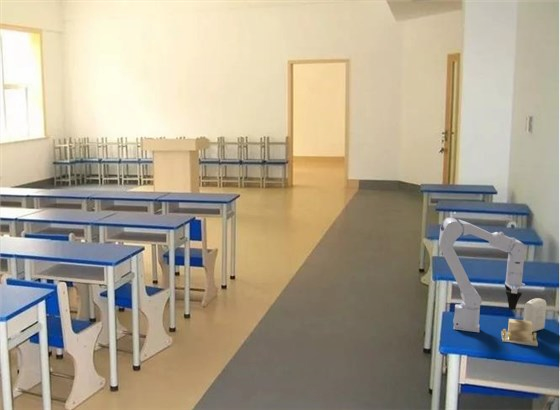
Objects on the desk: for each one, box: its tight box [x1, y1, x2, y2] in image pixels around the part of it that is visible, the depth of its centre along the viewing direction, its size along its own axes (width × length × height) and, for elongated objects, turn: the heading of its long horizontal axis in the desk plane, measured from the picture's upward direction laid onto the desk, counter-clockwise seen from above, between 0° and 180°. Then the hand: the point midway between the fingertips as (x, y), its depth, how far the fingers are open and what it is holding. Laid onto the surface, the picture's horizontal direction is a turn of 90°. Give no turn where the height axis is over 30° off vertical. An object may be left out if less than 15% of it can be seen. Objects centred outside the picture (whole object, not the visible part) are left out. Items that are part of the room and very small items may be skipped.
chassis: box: [500, 328, 539, 347], centre depth 218 cm, size 12×9×3 cm
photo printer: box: [522, 297, 548, 333], centre depth 228 cm, size 10×4×12 cm, turn 123°
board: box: [507, 318, 533, 341], centre depth 218 cm, size 8×4×6 cm, turn 71°
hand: (511, 306), depth 225 cm, fingers open, 7 cm apart
